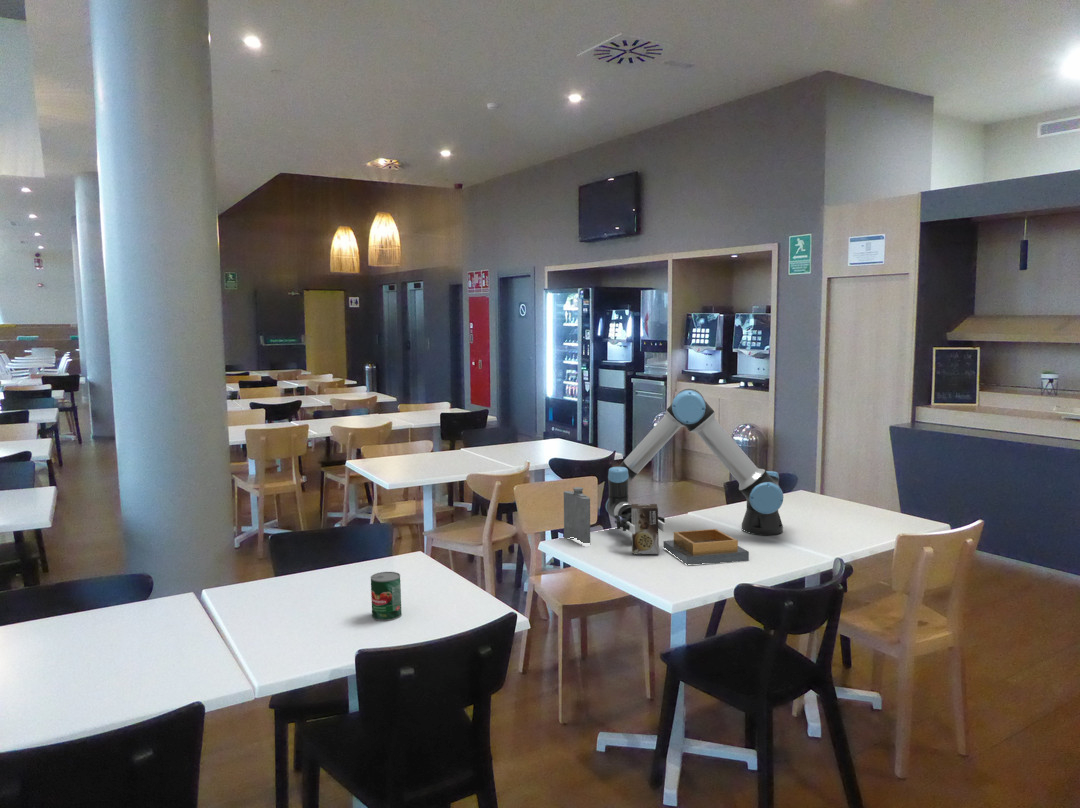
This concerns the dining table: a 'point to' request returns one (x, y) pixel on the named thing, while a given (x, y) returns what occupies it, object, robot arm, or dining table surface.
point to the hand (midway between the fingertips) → (649, 528)
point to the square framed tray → (705, 547)
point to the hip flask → (577, 515)
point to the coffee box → (645, 528)
